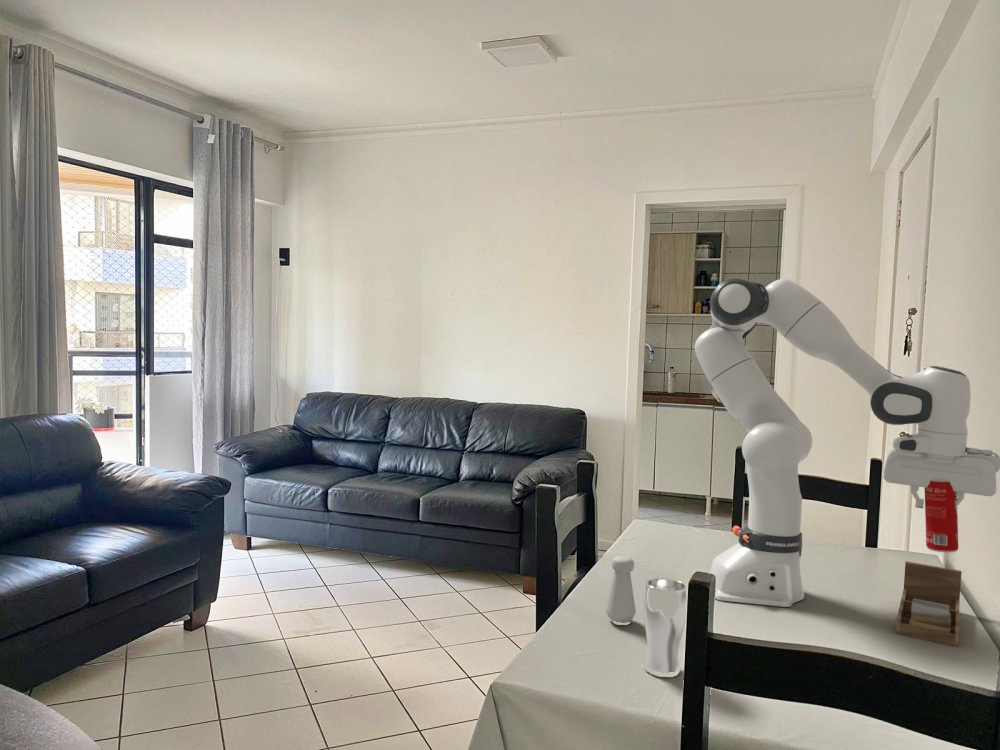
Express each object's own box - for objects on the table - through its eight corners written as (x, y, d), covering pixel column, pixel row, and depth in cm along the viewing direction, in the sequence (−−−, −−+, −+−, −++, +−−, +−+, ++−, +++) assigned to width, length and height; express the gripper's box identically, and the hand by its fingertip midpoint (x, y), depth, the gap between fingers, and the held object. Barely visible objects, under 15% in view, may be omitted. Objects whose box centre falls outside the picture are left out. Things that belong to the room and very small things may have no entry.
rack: (958, 646, 137) (961, 600, 136) (895, 632, 142) (898, 588, 142) (958, 612, 155) (961, 570, 154) (903, 601, 160) (905, 561, 160)
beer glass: (676, 660, 127) (680, 577, 126) (688, 680, 120) (692, 592, 119) (637, 660, 127) (641, 576, 126) (646, 679, 120) (650, 591, 119)
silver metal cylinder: (950, 637, 142) (951, 613, 141) (909, 628, 145) (910, 605, 145) (950, 628, 146) (952, 605, 146) (910, 620, 150) (912, 597, 149)
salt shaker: (612, 629, 140) (615, 563, 139) (600, 617, 146) (603, 554, 145) (640, 626, 142) (643, 561, 141) (627, 615, 147) (630, 552, 146)
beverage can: (962, 555, 148) (966, 482, 147) (927, 552, 150) (930, 480, 149) (951, 547, 154) (955, 477, 153) (918, 544, 155) (921, 475, 155)
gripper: (1000, 449, 148) (994, 515, 149) (888, 437, 159) (883, 499, 160) (1002, 453, 143) (995, 522, 144) (885, 440, 154) (880, 504, 155)
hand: (935, 509), depth 152 cm, fingers closed on beverage can, 4 cm apart
